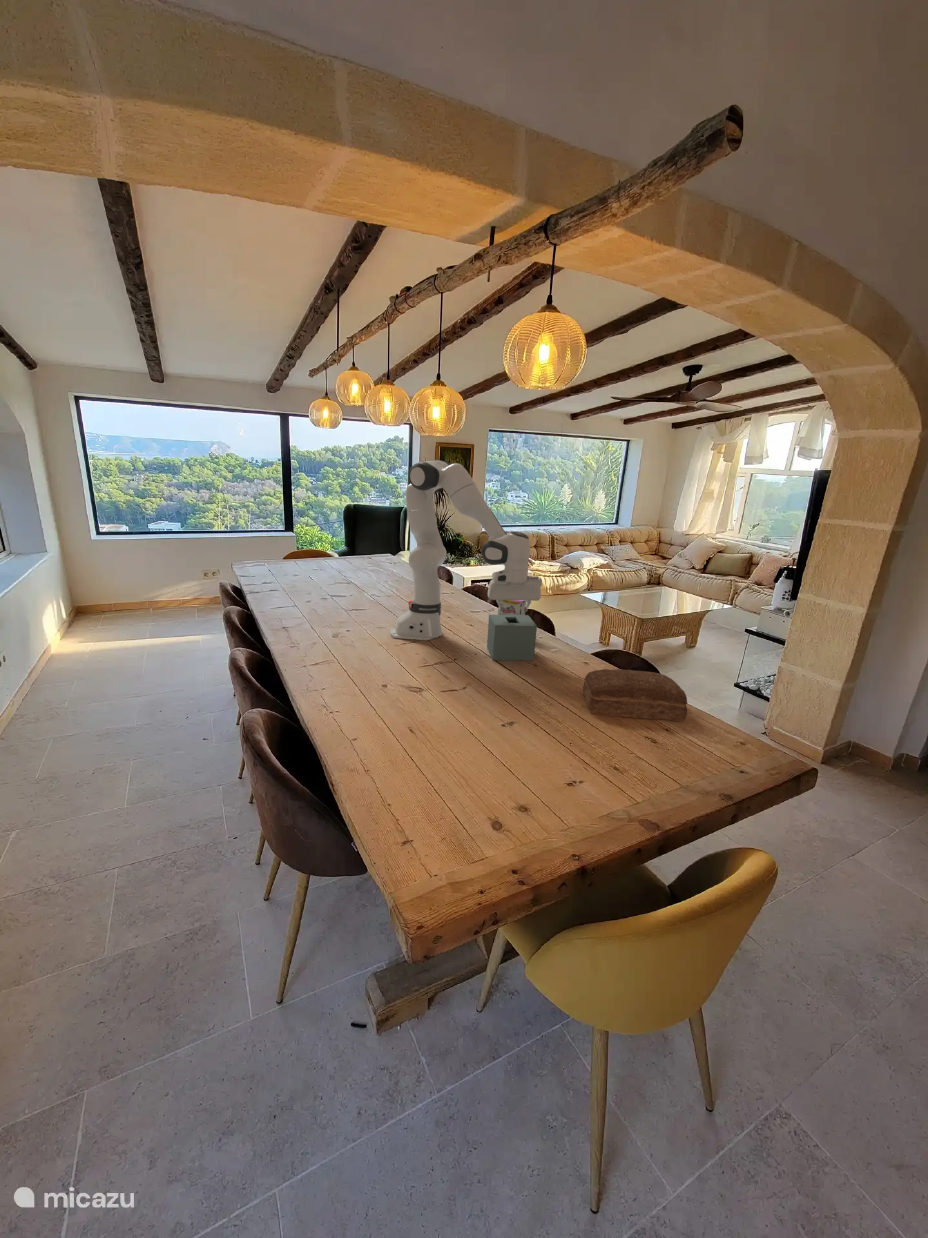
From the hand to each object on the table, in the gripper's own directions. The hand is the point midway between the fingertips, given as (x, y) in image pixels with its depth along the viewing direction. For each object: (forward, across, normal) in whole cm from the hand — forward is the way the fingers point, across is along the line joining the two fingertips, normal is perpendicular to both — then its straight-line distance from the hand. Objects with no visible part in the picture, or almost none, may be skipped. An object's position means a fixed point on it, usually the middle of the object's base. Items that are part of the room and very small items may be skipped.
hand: (512, 610), depth 189 cm
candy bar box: (+18, -5, -24) cm, 30 cm away
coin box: (+18, 0, 0) cm, 18 cm away
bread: (+18, -30, +46) cm, 57 cm away
